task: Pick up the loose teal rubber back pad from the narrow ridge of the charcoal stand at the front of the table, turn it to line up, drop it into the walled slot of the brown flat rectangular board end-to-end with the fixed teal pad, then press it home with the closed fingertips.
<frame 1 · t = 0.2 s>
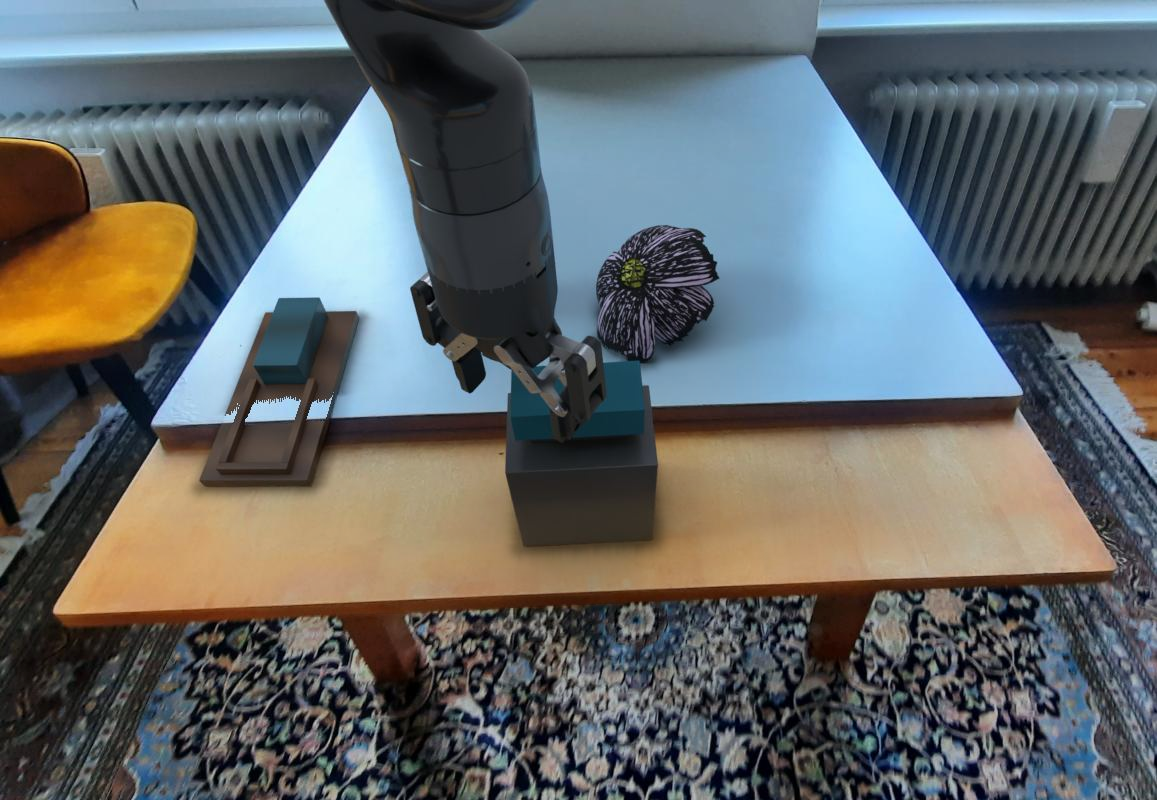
hand: (519, 407, 55), 18 cm above the table, tool pointing down, fingers open, 8 cm apart
decorative flower: (649, 320, 84), on the table
brown flat rectangular board: (288, 395, 80), on the table
back pad: (578, 412, 58), point 15 cm above the table, touching pad stand
beverage can: (490, 308, 87), on the table
pad stand: (586, 505, 70), on the table
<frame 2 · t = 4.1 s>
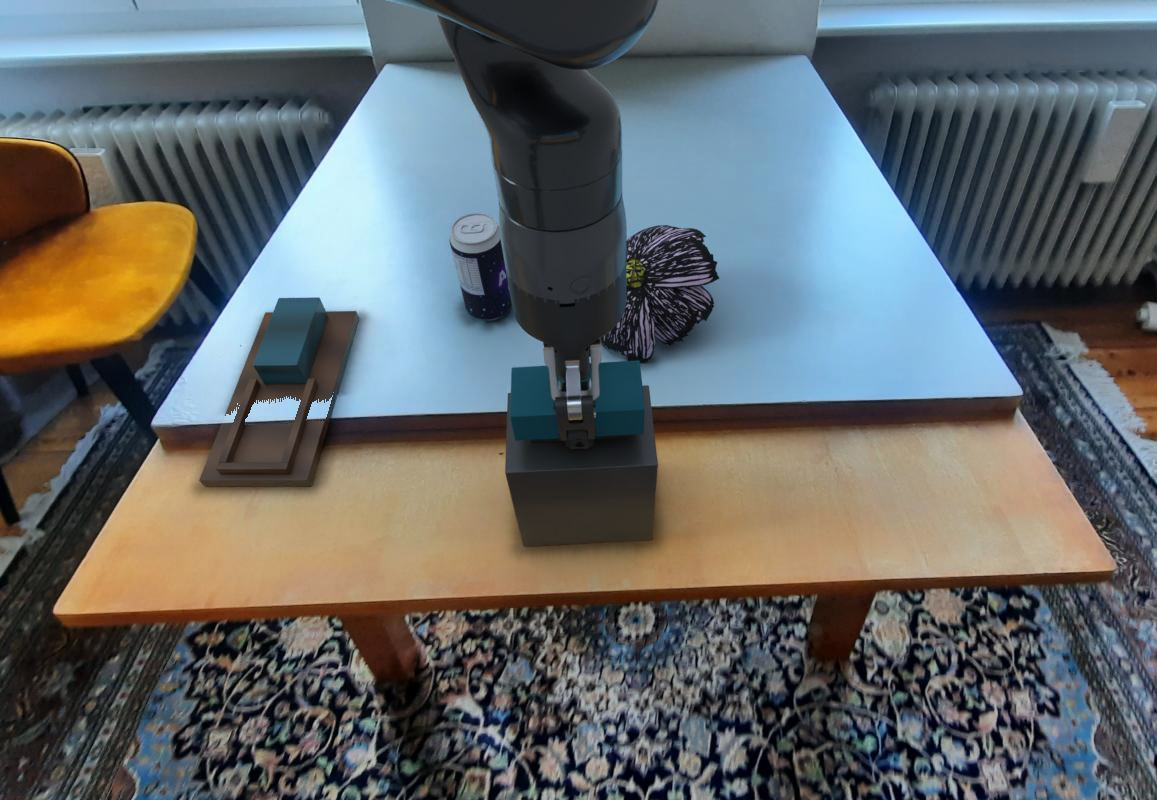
hand: (578, 415, 58), 15 cm above the table, tool pointing down, fingers closed on back pad, 4 cm apart
back pad: (578, 412, 58), point 15 cm above the table, touching gripper, pad stand
everything else where it was.
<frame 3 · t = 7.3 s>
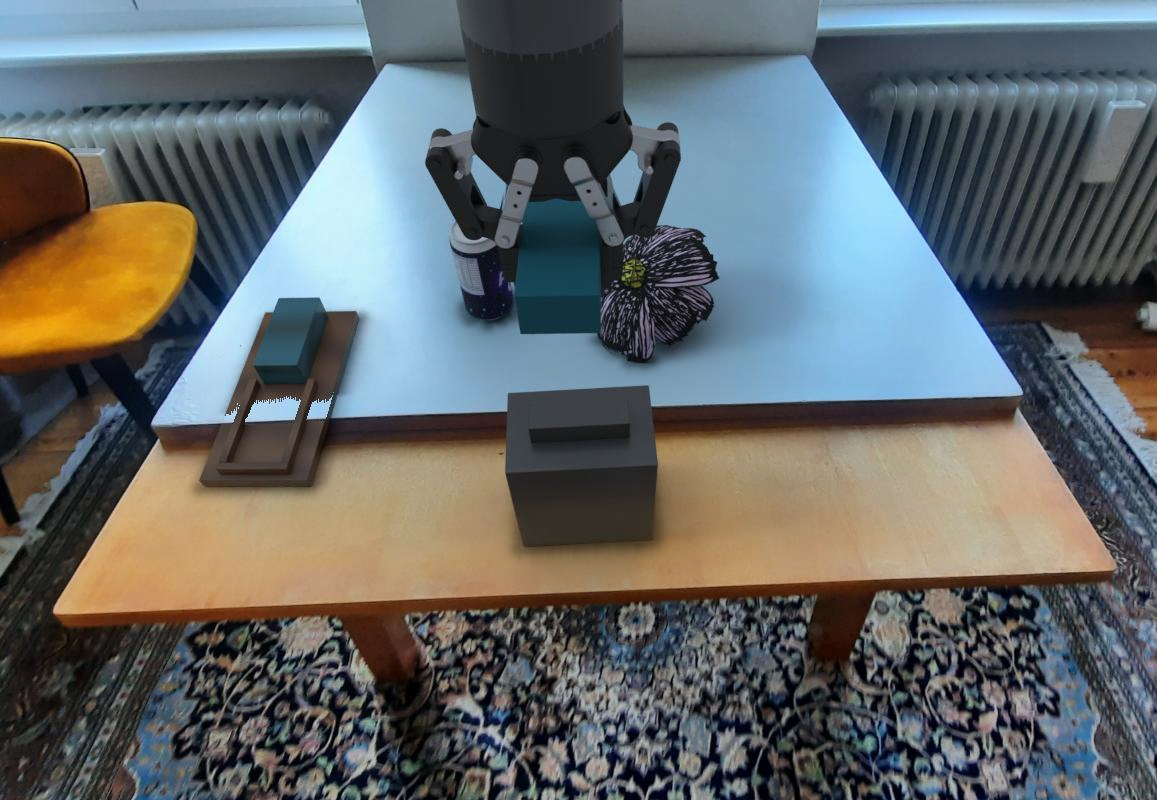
hand: (564, 279, 47), 29 cm above the table, tool pointing down, fingers closed on back pad, 4 cm apart
back pad: (563, 275, 47), point 30 cm above the table, touching gripper
everything else where it was.
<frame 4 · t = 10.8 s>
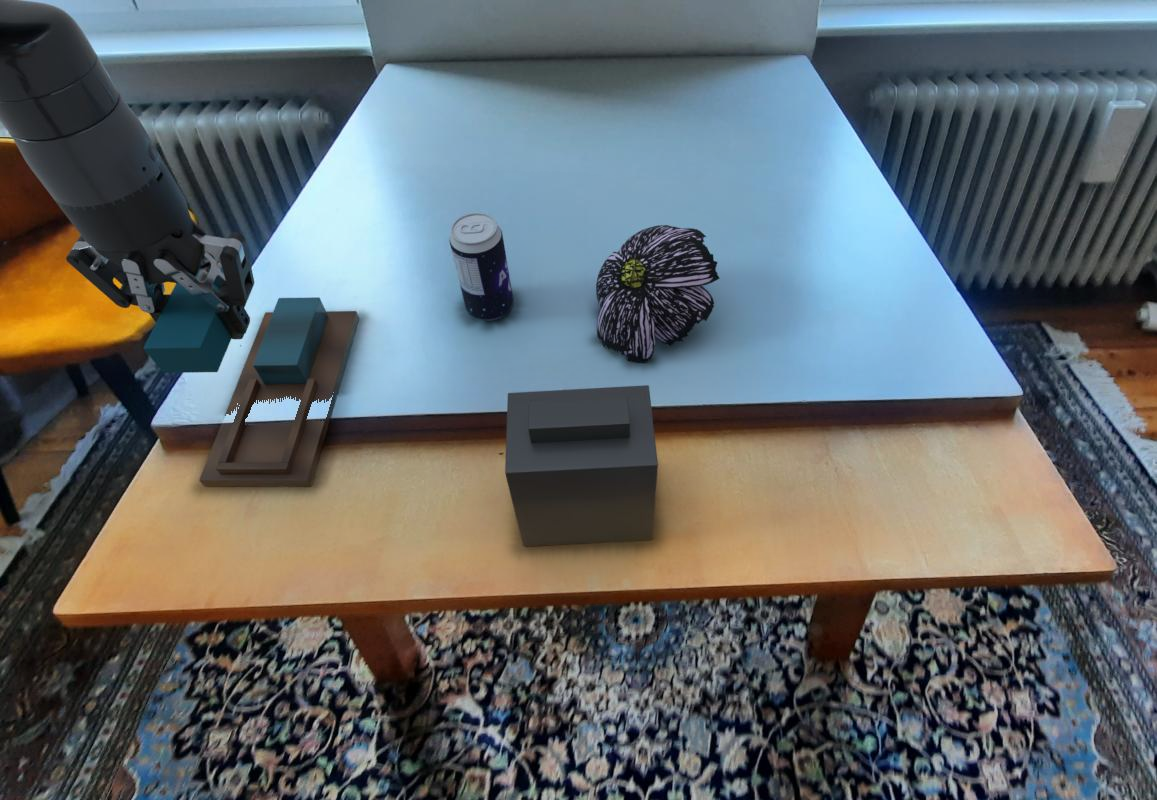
hand: (211, 331, 65), 15 cm above the table, tool pointing down, fingers closed on back pad, 4 cm apart
back pad: (209, 328, 65), point 16 cm above the table, touching gripper
everything else where it was.
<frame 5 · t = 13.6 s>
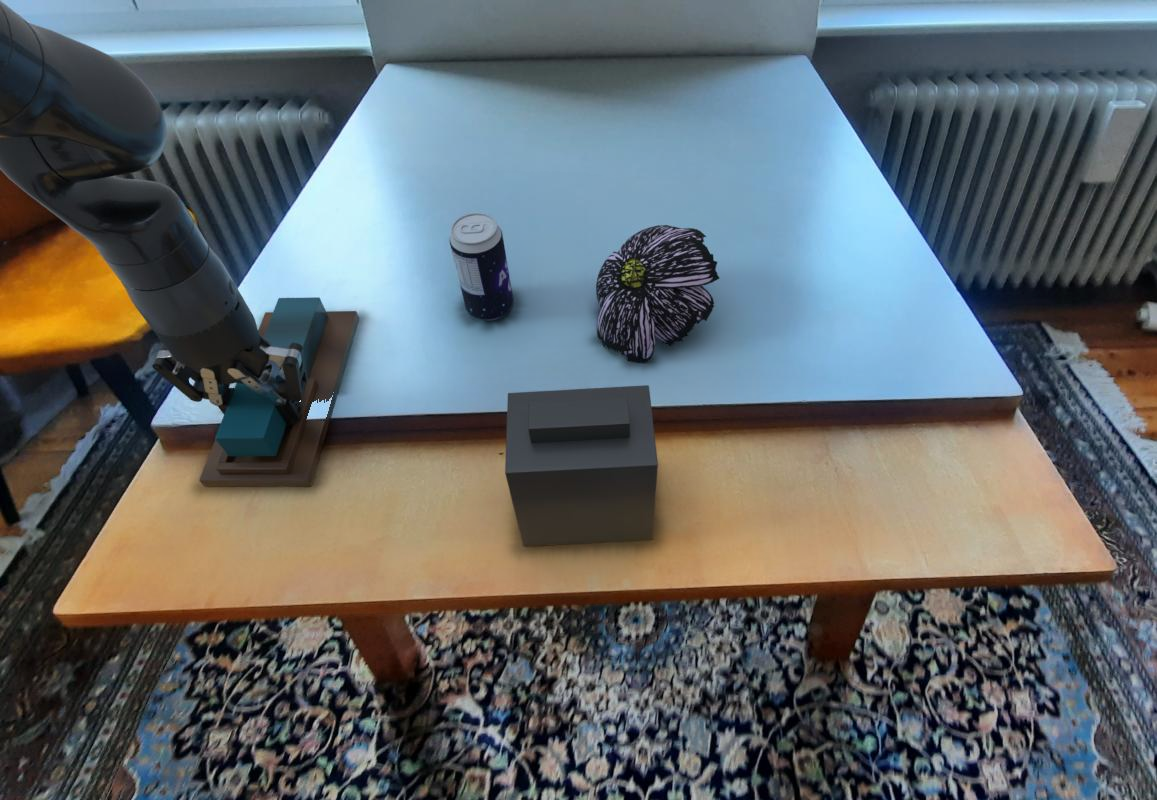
hand: (268, 417, 75), 2 cm above the table, tool pointing down, fingers closed on back pad, 4 cm apart
back pad: (266, 415, 75), point 3 cm above the table, touching gripper
everything else where it was.
when the fingers open (3 cm above the table, at t = 17.9 s): back pad drops 2 cm, resting on brown flat rectangular board.
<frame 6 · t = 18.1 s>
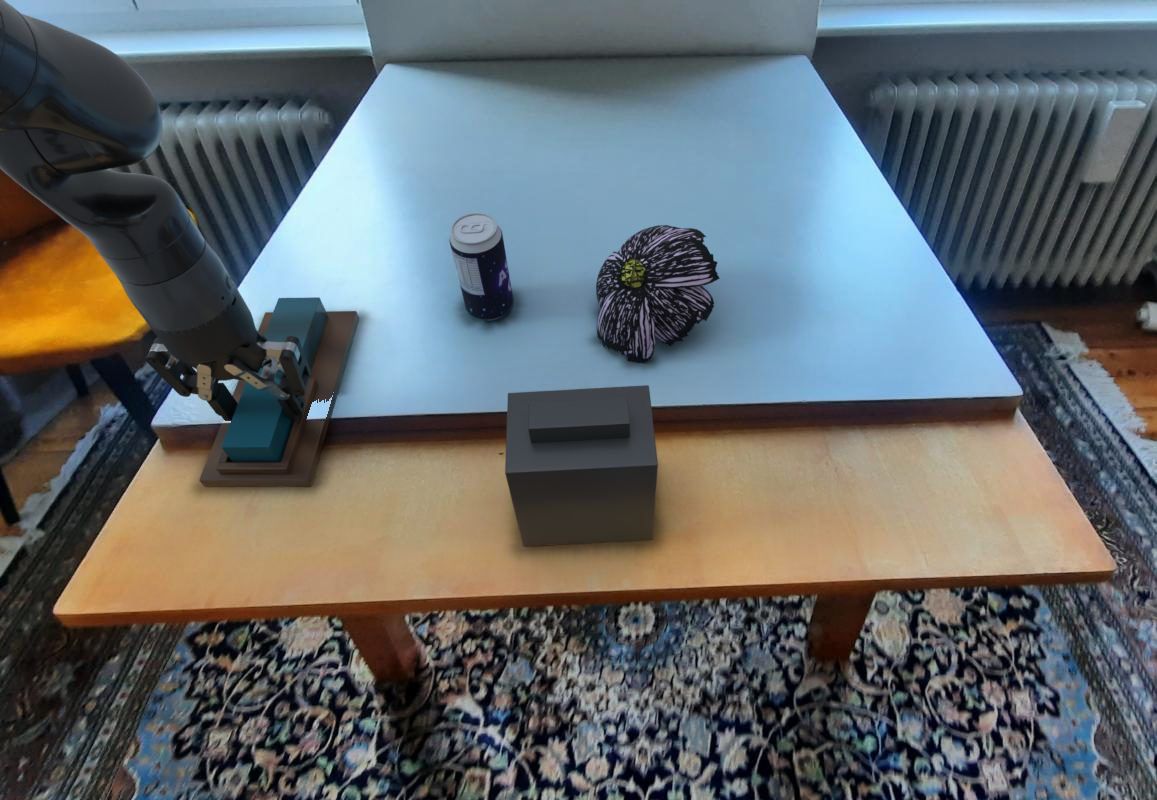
hand: (264, 413, 75), 3 cm above the table, tool pointing down, fingers open, 6 cm apart
back pad: (272, 424, 76), point 1 cm above the table, touching brown flat rectangular board
everything else where it was.
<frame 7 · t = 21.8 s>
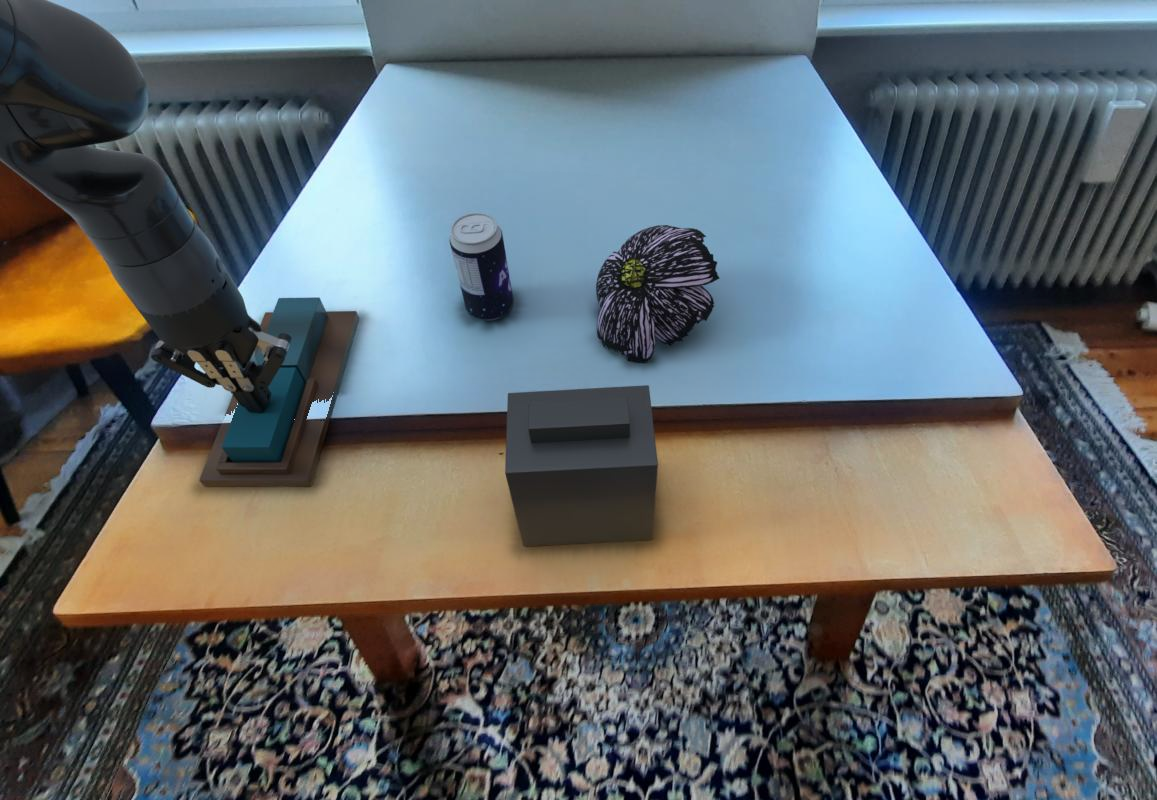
hand: (260, 405, 74), 4 cm above the table, tool pointing down, fingers closed
back pad: (272, 424, 76), point 1 cm above the table, touching brown flat rectangular board, gripper
everything else where it was.
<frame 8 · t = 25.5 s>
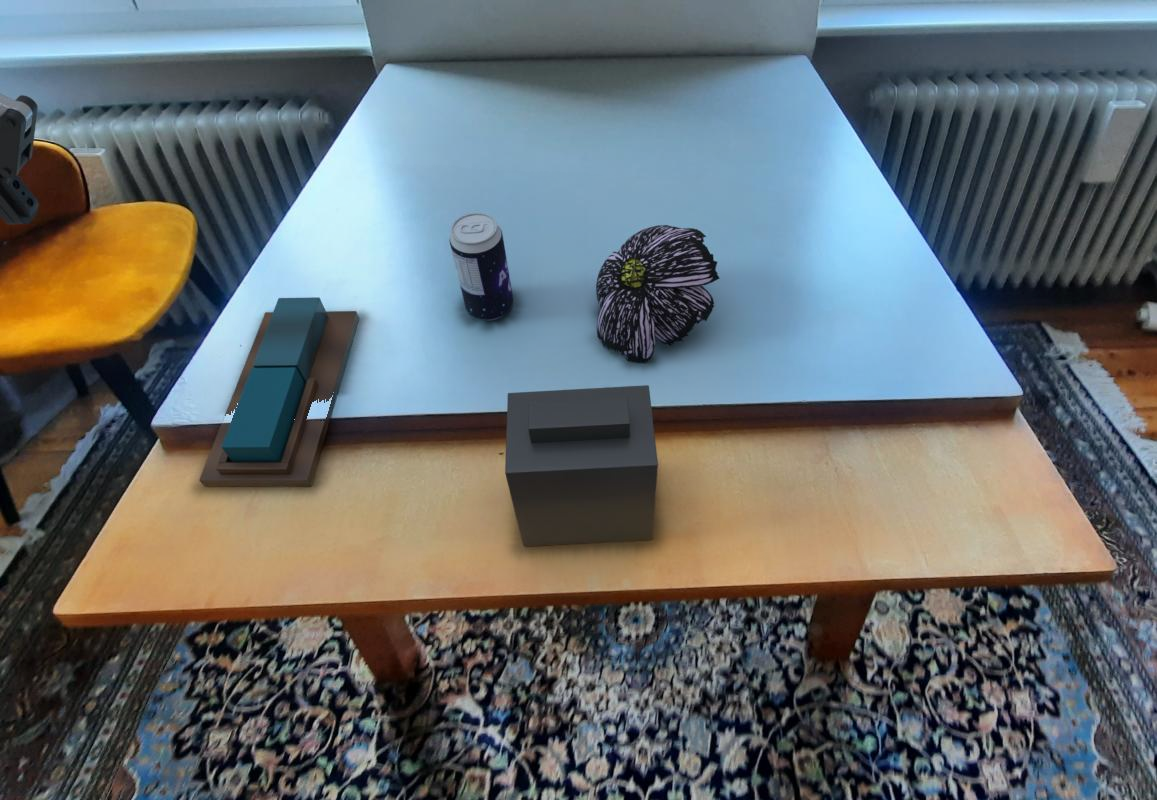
hand: (24, 217, 57), 27 cm above the table, tool pointing down, fingers closed
back pad: (272, 424, 76), point 1 cm above the table, touching brown flat rectangular board
everything else where it was.
at the end: back pad 0.0 cm from the target spot on the brown flat rectangular board, point 1.2 cm above the brown flat rectangular board's base; back pad tilted 0°; the gripper is holding nothing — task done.
